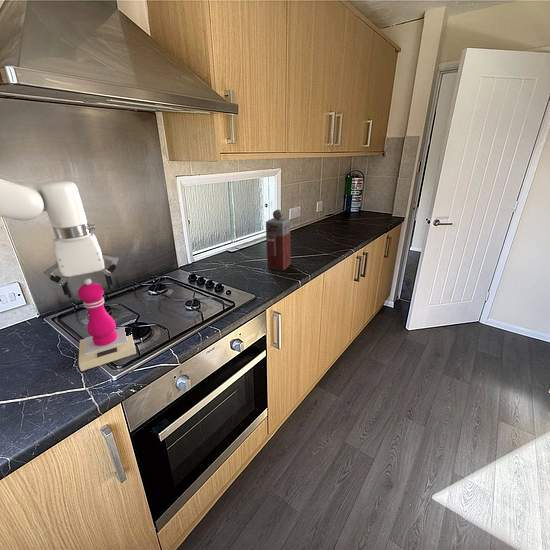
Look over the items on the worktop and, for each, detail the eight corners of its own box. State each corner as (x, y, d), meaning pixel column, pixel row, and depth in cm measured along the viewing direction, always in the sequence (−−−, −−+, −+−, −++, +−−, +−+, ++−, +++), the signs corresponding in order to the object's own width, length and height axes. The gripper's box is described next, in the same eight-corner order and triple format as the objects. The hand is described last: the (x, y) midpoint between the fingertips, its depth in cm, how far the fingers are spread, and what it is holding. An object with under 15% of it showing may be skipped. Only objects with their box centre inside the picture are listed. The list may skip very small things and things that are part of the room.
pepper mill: (120, 330, 92) (103, 272, 84) (117, 343, 86) (99, 281, 78) (94, 336, 89) (74, 276, 82) (89, 349, 83) (68, 286, 75)
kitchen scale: (81, 371, 79) (77, 362, 78) (81, 346, 90) (79, 338, 89) (136, 353, 86) (134, 345, 85) (131, 332, 96) (129, 324, 95)
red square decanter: (265, 269, 143) (262, 212, 132) (274, 261, 152) (273, 207, 141) (282, 272, 140) (280, 213, 129) (290, 264, 149) (290, 208, 138)
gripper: (109, 224, 82) (123, 280, 88) (32, 234, 74) (54, 294, 81) (111, 229, 76) (126, 289, 82) (27, 240, 68) (51, 305, 75)
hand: (90, 291), depth 81 cm, fingers open, 9 cm apart
